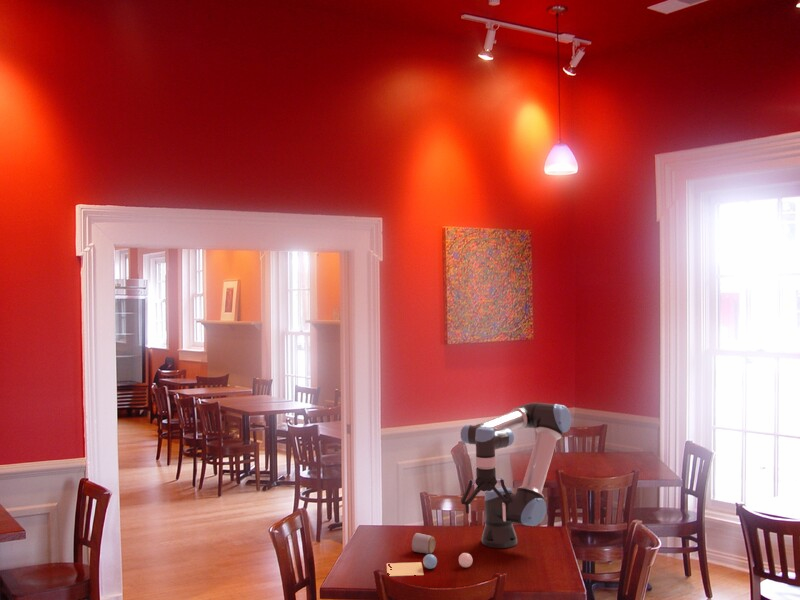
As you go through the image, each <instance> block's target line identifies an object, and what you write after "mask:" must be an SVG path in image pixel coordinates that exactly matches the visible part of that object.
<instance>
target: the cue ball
mask: <svg viewBox="0 0 800 600" xmlns="http://www.w3.org/2000/svg"><path fill="white" fill-rule="evenodd" d="M458 564H459V565H460V566H461V567H462V568H469V567H471V566H472V564H473V557H472V555H471V554H470V553H469V552H462V553H461V554H460V555H459V556H458Z"/></svg>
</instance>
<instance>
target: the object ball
mask: <svg viewBox="0 0 800 600" xmlns="http://www.w3.org/2000/svg"><path fill="white" fill-rule="evenodd" d="M422 562H423V563H422V565H423V566H424V568H426V569H428V570H432V569H434V568H436V566H437V563H438V559H437V557H436V555H434V554H432V553H431V554H426V555H425V556H424V557H423V559H422Z"/></svg>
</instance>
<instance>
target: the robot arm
mask: <svg viewBox="0 0 800 600" xmlns="http://www.w3.org/2000/svg"><path fill="white" fill-rule="evenodd" d="M571 426H572V415H571V411H570V410H569V408H568V407H567V406H566V405H564V404H559V403H546V402H536V401H535V402H530V403H526V404H522V405H519V406H517V407H514V408H512V409H511V410H510V411H509V412H507V413H505V414H502V415H500V416H497V417H493V418H491V419H488V420H486V421H483V422H481V423H477V424H476V425H471V424H469V425H467V424H465V425H464V426H462V428H461V429H460V434H459V435H460V439H461V441H462V443H464V444H469V445H475V466H476V469H475V470H476V472H475V473H476V475H475V476H476V479H471V478H469V479H468V483H467V486H466V489H465V490H464V492H463V495H462V497H461V499H460V503H461V505H465V508H464V509H465V513H466V514H468V515H467V516H468V523H472V505H471V503H472V501H473V500H474V499H475V498H476V496H478V495H479V493H480V492H481V491H482V492H485V493H484V519H485V520H484V523H485V525H484V528H483V531H482V533H481V534H482V535H481V544H482V545H484V546H485V547H489V548H492V549H493V548H495V549H505V548H511V547H514V546H516V545H518V538H517V537H518V536H517V533H516V531H515V528H514V525H513V523H515V524H519V525H520V524H521V525H523V526H530V527H535V526H538V525H539V524H540V523H542V522H543V520H544V519H545V516H546V513H547V503H546V500H544V498H545V496H544V494H543V490H544V485H545V482H546V479H547V475H548V471H549V468H550V465H551V462H552V458H553V454H554V451H555V448H556V444H557V442H558V440H561V439H562V437H563V434H564V433H568V432H569V431H570V430H571V429H570V428H571ZM516 429H517V430H523V429H535V432H536V438H535V441H534V445H533V448H532V452H531V455H530V457H529V461H528V465H527V468H526V471H525V475H524V477H523V480H522V484H521V486H518V487H517V489H516V491H515V493H513V490H512V488H511V487H508V486H507V487H506V486H505V480H504V479H503V478H502V477H501V478H499V479H497V478H496V476H497V474H496V468H495V467H496V450H499V449H500V450H501V449H504V448H507V447H509V446H512V445H513V443H514V440H515V435H514V432H513V430H516ZM474 484H475V485H476V487H475V489H474V490H473V491H472V493H471V494H470V495H469V493H470V492H471V490H472V487H473V486H474ZM497 484H498V485H500V487H496V485H497ZM468 495H469V496H468Z"/></svg>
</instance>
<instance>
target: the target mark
mask: <svg viewBox="0 0 800 600" xmlns="http://www.w3.org/2000/svg"><path fill="white" fill-rule="evenodd" d="M388 564H390V566H391V567H392V568H390V567H389V566H388ZM390 569H392V570H390ZM387 573H389V574H390V575H389V576H390V577H409V576H410V577H411V576H414V575H416V576H424V575H425V574H424V568H423V563H422V562H421V561H419V562H417V561H416V562H395V563H394V562H391V563H390V562H388V563H386V574H387Z"/></svg>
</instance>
